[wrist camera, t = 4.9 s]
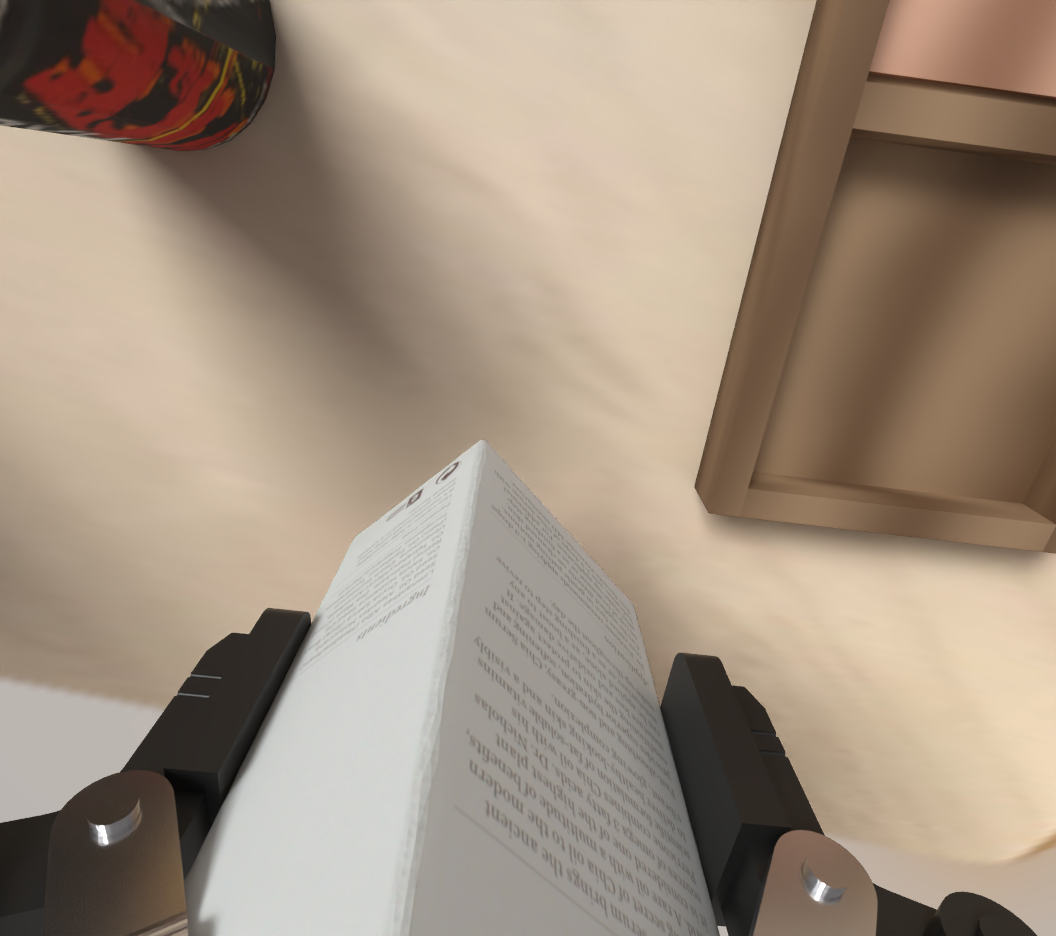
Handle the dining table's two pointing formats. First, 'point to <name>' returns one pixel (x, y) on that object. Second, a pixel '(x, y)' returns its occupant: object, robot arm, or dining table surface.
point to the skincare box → (459, 745)
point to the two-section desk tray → (903, 285)
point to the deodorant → (136, 68)
